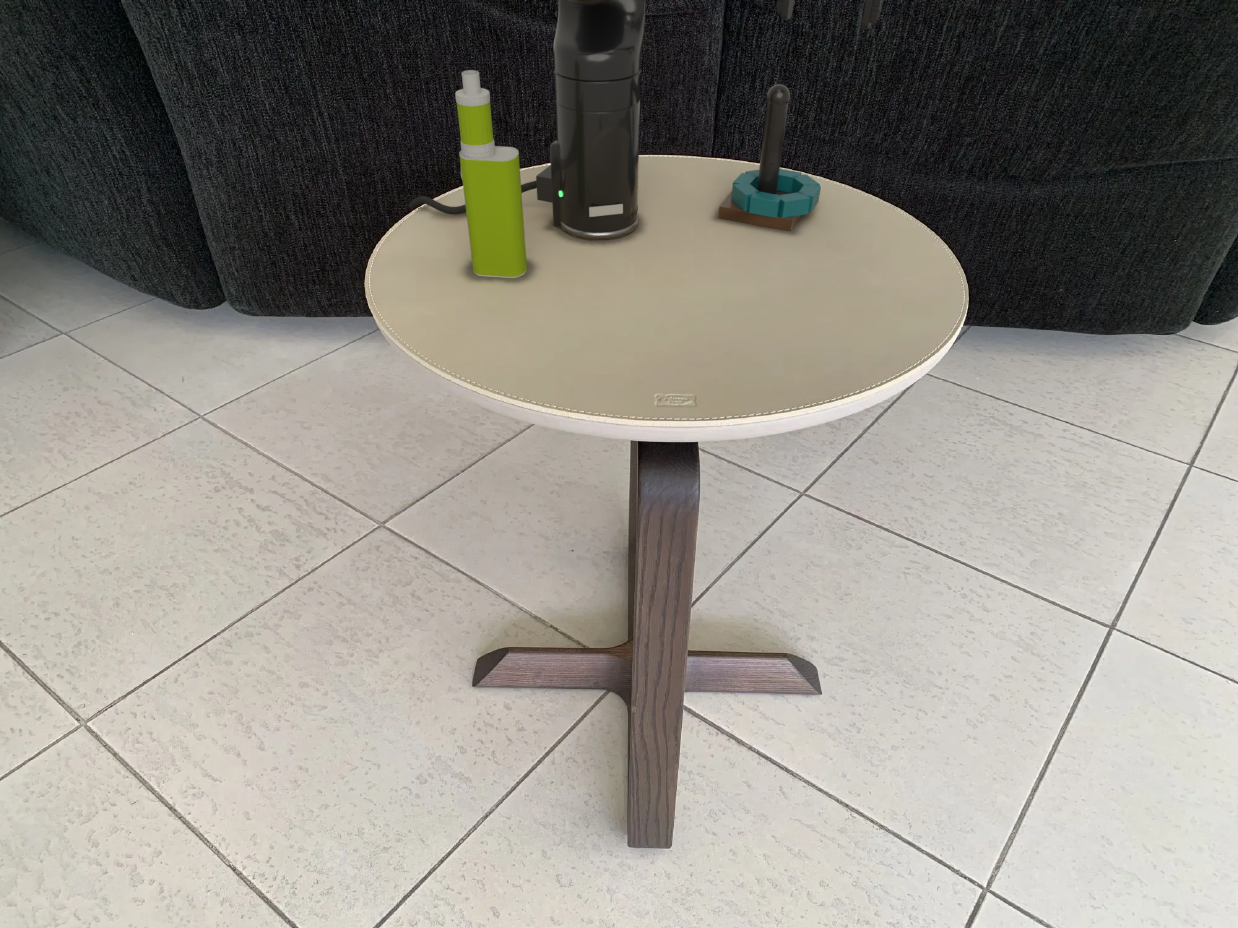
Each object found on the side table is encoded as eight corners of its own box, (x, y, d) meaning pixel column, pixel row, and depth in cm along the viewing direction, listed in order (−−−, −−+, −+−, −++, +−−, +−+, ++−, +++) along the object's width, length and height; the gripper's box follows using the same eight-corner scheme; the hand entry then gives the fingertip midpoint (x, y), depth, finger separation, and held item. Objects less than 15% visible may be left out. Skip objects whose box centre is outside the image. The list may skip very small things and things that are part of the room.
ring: (722, 208, 100) (723, 192, 98) (748, 179, 107) (749, 163, 105) (804, 223, 96) (806, 206, 95) (825, 192, 103) (827, 176, 102)
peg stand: (718, 218, 101) (729, 90, 92) (740, 191, 107) (752, 69, 98) (790, 231, 98) (809, 101, 89) (808, 203, 105) (828, 79, 95)
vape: (477, 259, 92) (455, 66, 79) (530, 263, 92) (516, 69, 79) (468, 275, 89) (443, 77, 77) (522, 279, 89) (507, 80, 76)
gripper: (940, -168, 78) (899, 23, 88) (791, -175, 82) (769, 8, 93) (929, -164, 73) (887, 39, 83) (770, -171, 77) (750, 23, 87)
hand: (825, 23), depth 88 cm, fingers open, 8 cm apart
